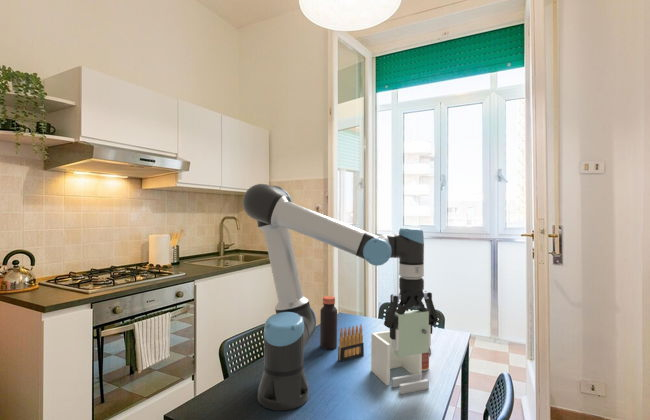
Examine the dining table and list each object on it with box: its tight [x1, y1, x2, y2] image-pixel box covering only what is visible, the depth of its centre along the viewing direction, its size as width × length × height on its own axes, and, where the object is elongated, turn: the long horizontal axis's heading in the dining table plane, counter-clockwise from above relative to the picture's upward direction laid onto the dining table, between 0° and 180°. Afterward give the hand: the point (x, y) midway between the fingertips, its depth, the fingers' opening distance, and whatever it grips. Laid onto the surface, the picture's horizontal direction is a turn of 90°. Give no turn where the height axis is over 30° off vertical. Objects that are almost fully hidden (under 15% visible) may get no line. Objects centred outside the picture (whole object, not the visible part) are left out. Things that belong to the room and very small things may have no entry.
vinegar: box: [319, 295, 338, 351], centre depth 140 cm, size 7×7×20 cm
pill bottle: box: [422, 352, 430, 372], centre depth 122 cm, size 6×6×11 cm
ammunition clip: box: [337, 324, 365, 362], centre depth 130 cm, size 11×2×12 cm, turn 121°
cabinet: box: [370, 330, 430, 395], centre depth 114 cm, size 13×17×13 cm
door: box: [394, 309, 429, 357], centre depth 108 cm, size 11×4×13 cm, turn 110°
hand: (411, 346), depth 109 cm, fingers closed on door, 11 cm apart
